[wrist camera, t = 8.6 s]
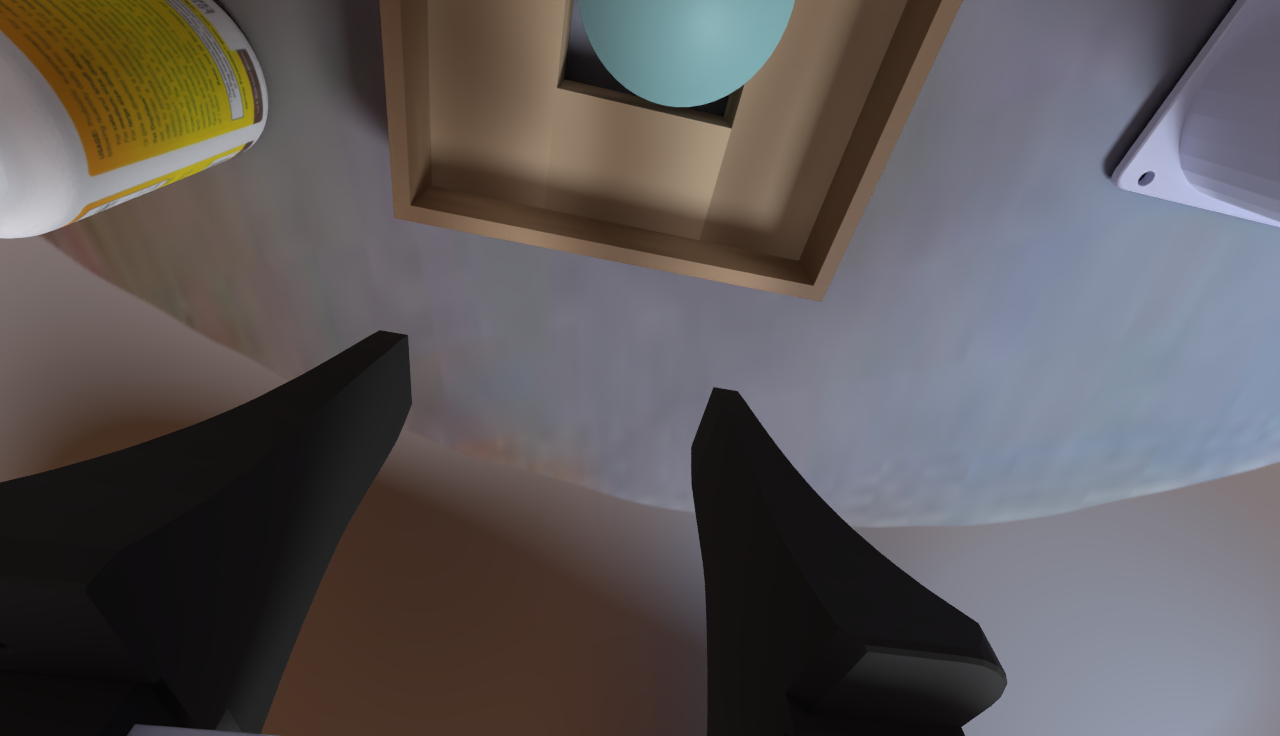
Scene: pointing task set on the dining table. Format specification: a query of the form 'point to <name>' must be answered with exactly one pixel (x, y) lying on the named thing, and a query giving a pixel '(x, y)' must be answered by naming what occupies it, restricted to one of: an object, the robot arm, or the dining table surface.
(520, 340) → the dining table surface
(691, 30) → the peg
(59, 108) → the supplement bottle
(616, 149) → the box
